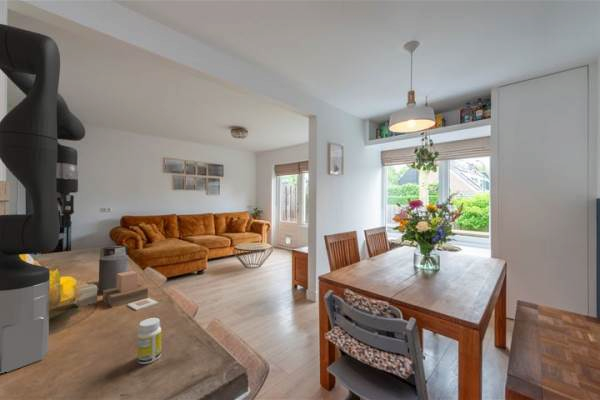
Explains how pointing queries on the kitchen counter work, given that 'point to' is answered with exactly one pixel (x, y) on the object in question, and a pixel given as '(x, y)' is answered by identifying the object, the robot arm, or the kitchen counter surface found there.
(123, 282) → the terracotta block
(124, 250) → the coffee box
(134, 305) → the card
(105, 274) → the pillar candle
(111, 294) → the walnut block
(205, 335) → the kitchen counter surface
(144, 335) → the supplement bottle
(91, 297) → the birch block
